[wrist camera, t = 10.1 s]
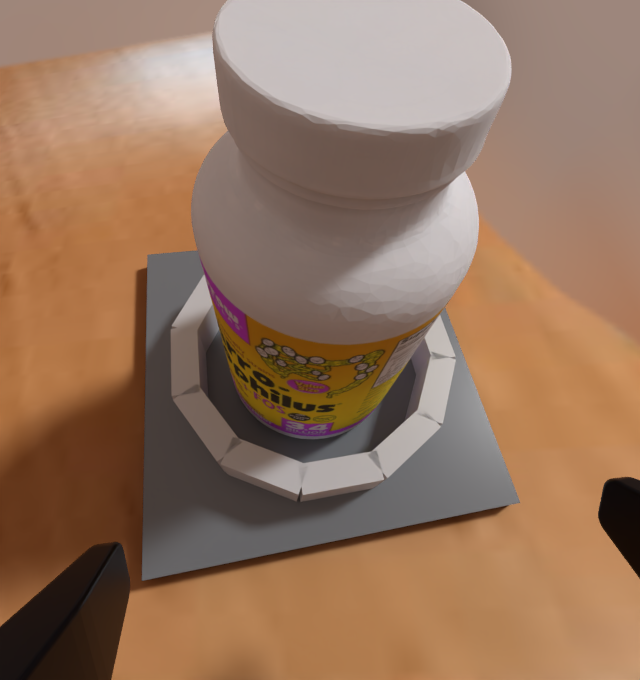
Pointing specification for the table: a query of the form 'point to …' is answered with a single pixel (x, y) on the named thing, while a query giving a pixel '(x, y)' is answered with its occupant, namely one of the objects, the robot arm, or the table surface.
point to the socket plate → (295, 446)
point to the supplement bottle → (340, 194)
